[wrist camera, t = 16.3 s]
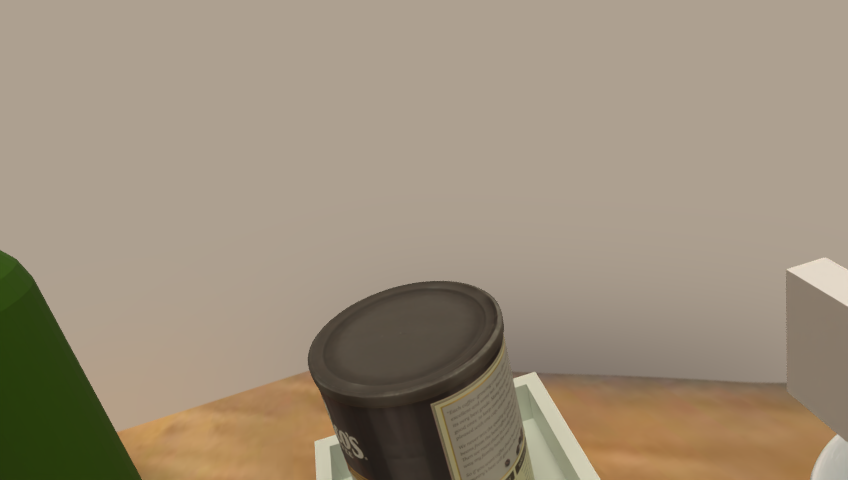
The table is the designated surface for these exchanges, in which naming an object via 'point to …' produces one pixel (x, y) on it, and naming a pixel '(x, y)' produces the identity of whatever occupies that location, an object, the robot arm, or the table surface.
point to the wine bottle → (48, 396)
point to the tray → (544, 430)
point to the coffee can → (422, 386)
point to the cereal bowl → (832, 461)
